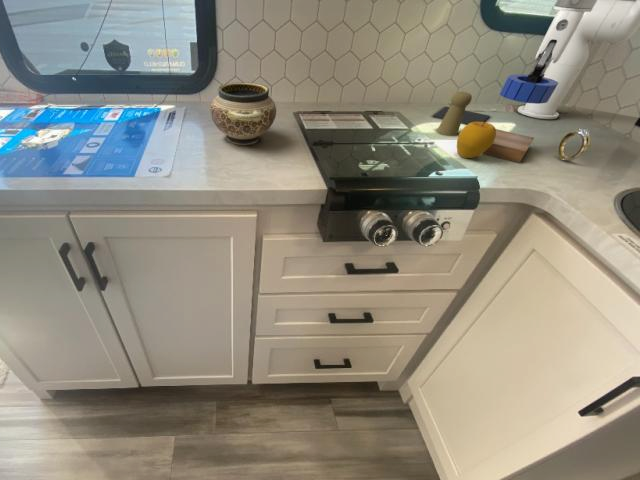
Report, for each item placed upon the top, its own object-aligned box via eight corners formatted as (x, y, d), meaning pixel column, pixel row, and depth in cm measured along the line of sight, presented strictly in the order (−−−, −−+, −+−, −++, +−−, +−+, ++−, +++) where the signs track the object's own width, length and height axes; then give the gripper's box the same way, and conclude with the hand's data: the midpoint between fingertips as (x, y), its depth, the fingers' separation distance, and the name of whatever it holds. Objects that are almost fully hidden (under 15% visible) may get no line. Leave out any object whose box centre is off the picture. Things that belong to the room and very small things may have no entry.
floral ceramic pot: (220, 133, 109) (206, 80, 99) (275, 119, 107) (267, 63, 97) (219, 166, 92) (202, 106, 82) (284, 150, 90) (275, 86, 79)
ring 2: (577, 165, 92) (600, 134, 87) (565, 165, 92) (587, 133, 87) (560, 155, 97) (581, 124, 92) (549, 154, 97) (569, 124, 92)
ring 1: (504, 89, 97) (513, 72, 94) (550, 96, 92) (560, 79, 89) (496, 97, 90) (505, 79, 88) (544, 106, 86) (555, 88, 83)
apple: (471, 165, 90) (490, 130, 84) (443, 154, 95) (458, 120, 89) (490, 159, 94) (508, 124, 87) (461, 148, 99) (477, 115, 92)
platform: (476, 136, 107) (481, 125, 105) (527, 148, 101) (534, 137, 98) (464, 148, 99) (469, 137, 97) (519, 162, 93) (526, 151, 91)
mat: (445, 107, 128) (445, 106, 127) (489, 116, 121) (489, 115, 121) (432, 116, 119) (432, 115, 119) (478, 127, 113) (479, 126, 112)
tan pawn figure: (452, 137, 105) (470, 96, 98) (433, 131, 109) (449, 91, 101) (460, 132, 108) (478, 93, 101) (442, 127, 111) (458, 88, 104)
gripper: (593, 5, 74) (538, 100, 87) (597, 1, 83) (547, 88, 96) (552, 2, 77) (506, 95, 90) (560, -2, 86) (517, 83, 99)
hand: (527, 90), depth 93 cm, fingers closed on ring 1, 2 cm apart
